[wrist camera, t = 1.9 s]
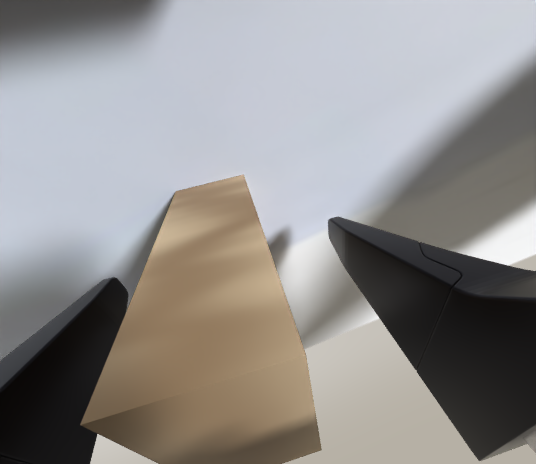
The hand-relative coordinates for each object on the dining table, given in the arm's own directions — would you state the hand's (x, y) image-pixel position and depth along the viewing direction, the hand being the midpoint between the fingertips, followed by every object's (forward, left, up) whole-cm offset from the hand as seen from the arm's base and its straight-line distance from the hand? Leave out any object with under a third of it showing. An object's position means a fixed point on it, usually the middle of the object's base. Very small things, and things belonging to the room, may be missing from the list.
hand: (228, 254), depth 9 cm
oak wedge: (0, 0, -2) cm, 2 cm away
